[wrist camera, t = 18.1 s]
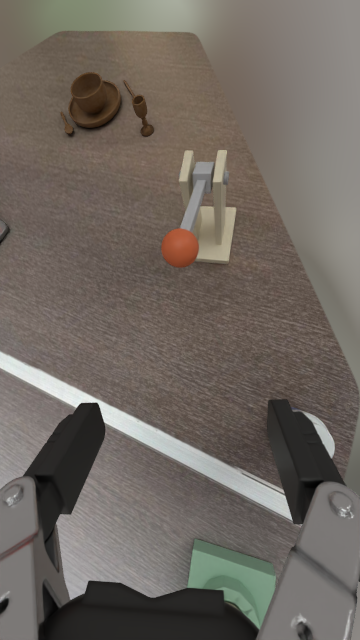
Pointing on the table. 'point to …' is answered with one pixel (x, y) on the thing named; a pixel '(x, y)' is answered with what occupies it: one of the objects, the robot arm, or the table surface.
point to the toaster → (3, 229)
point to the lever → (189, 221)
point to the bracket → (210, 212)
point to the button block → (233, 578)
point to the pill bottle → (320, 431)
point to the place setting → (100, 103)
